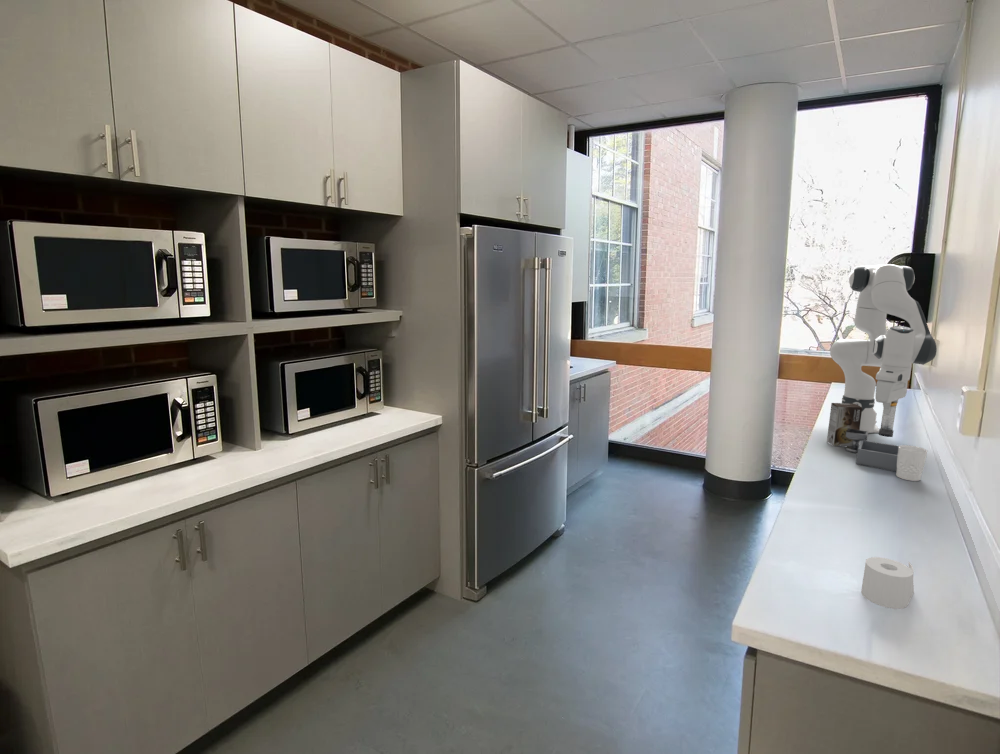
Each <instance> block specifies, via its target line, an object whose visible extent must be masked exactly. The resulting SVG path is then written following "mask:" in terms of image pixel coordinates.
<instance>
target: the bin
mask: <svg viewBox="0 0 1000 754" xmlns="http://www.w3.org/2000/svg"><path fill="white" fill-rule="evenodd" d="M898 446H899V445H897V444H896V445H895V444H889V443H882V442H879V441H878V442H877V441H870V440H867V441H865V440H861V441H860V444H859V448H858V453H856V454H857V455H856V460H855V465H856V466H857V465H858V466H863V467H869V468H875V469H881V470H886V471H891V472H896V471H897V455H898Z"/></svg>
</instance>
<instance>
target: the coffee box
mask: <svg viewBox="0 0 1000 754" xmlns="http://www.w3.org/2000/svg"><path fill="white" fill-rule="evenodd" d="M861 414H862V407H860V406H859V405H857V404H851V403H842V402H831V404H830V413H829V419H828V420H829V421H828V422H829V423H828V431H827V435H826V442H827V443H828V444H830V445H831V446H832V447H845V448H846V447H847V446H852V439H848V438H847V437H846V431H847V429H848V428H849V429H856V430H860V422H861Z"/></svg>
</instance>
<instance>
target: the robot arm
mask: <svg viewBox="0 0 1000 754" xmlns="http://www.w3.org/2000/svg"><path fill="white" fill-rule="evenodd" d="M915 279H916V278H915V272H914V269H913V268H912V267H910V266H907V265H896V264H891V263H887V264H886V263H885V264H875V265H865V264H863V265H858V266H855V267H854V268H853V269H852V271H851V272H850V274H849V277H848V283H849V287H850V289H851V290H852V291H853V292H859V296H858V298H857V301H856V309H855V316H854V321H853V322H854V326H855V327H856V328H857V329H858V330H860V331H861V332H863V333H865V334H867V335H868V339H859V338H846V339H845V338H844V339H837V340H836V341H834V342H833V343H832V344H831V347H830V350H829V351H830V352H829V353H830V357H831V359H832V360H833V361H834V363H836V364H837V365H839V367H840V368H841V370H842V371H843V374H844V391H843V392H844V393H843V395H842V398H841V403H851V404H857V405H859V406H860V407H862V414H861V422H860V430H862V431H869V432H868V434H870V433H871V434H872V433H873V434H874V433H878V434H879V429H880V427H878V426H877V423H878V422H877V412H876V411H875V410H874V407H875V404H876V403H879V404H880V403H881V404H882V407H883V408H884V410H882V414H883V413H885V414H889V413H890V411H891V409H890V404H891V402H897V404H898V403H899V400H901V399H903V398H906V396H907V391H908V383H909V382H908V381H910V379H911V373H912V372H911V371H912V366H913V365H912V364H915V365H916V364H917V365H926V364H927V363H929V362H931V361H932V360H934V359H935V358H936V356H937V343H936V341H935V339H934V337H933V336H932V334H931V332H930V331H931V330H930V328H929V325H928V323H927V320H926V317H925V314H924V312H923V310H922V309H923V308H922V307H921V304H920V303H919V301H917V300H916V299H914V298H913V297H911V295H910V294H909V292H908V291H910V290H911V289H912V288H913V285H914V283H915ZM888 315H891V316H895V317H897V318H900V319H902V320H904V321H906V322H907V323H908V324H909V327H908V326H904V325H903V326H902V325H895V326H890V327H888V329H887V316H888ZM863 366H864V367H865V366H867V367H877V368H878V367H879V371H877V373H876V374H875V379H874V377H873V376H872V375H870V374H868V373H866V372H864V371H863V370H862V367H863ZM876 380H877V382H876ZM875 402H876V403H875ZM883 408H882V409H883Z"/></svg>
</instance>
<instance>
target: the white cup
mask: <svg viewBox="0 0 1000 754" xmlns="http://www.w3.org/2000/svg"><path fill="white" fill-rule="evenodd" d="M897 446H898V455H897V471H895V472H896V473H895V477H897V478H899V479H902V480H907V481H913V482H918V481H921V479H922V474H923V471H924V468H925V464H926V463H925V462H926V460H927V459H926V458H927V455H928V450H927V449H925V448H923V447H919V446H915V445H907V444H906V445H905V444H903V445H901V444H900V445H897Z"/></svg>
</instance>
